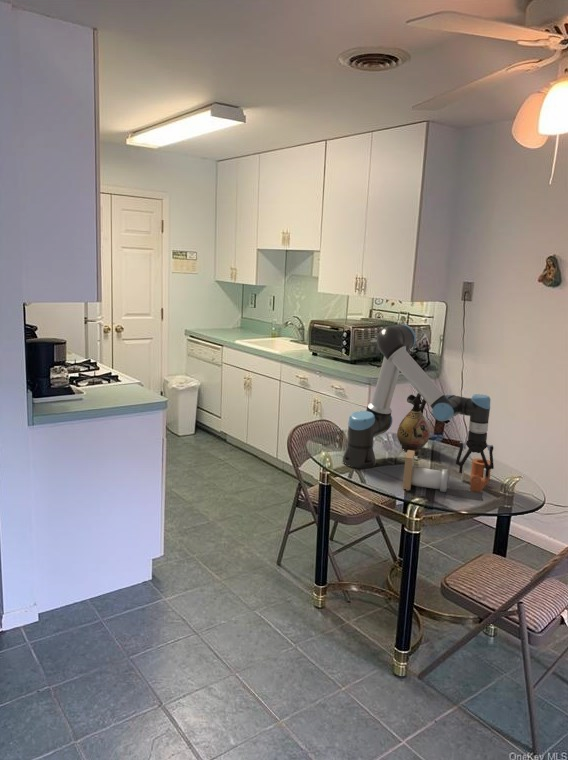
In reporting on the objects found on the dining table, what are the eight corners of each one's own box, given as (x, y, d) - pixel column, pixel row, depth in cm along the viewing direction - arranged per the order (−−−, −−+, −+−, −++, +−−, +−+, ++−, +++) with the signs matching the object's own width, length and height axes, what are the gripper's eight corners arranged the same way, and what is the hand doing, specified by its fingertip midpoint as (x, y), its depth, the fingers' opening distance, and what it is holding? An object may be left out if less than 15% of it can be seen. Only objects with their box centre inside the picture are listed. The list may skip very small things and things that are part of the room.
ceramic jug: (411, 456, 277) (416, 396, 271) (389, 447, 290) (394, 389, 283) (436, 451, 286) (442, 392, 280) (414, 442, 299) (419, 386, 292)
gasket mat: (446, 495, 233) (446, 494, 233) (447, 487, 241) (447, 487, 241) (482, 500, 229) (482, 499, 229) (482, 493, 237) (482, 492, 237)
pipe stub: (402, 489, 237) (405, 457, 234) (405, 480, 247) (407, 449, 244) (445, 496, 233) (449, 463, 230) (446, 486, 242) (449, 455, 239)
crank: (472, 457, 255) (491, 459, 253) (470, 474, 257) (489, 476, 255) (472, 473, 237) (492, 475, 234) (470, 491, 238) (490, 494, 236)
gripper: (452, 430, 243) (447, 481, 248) (504, 436, 237) (498, 488, 242) (452, 426, 250) (447, 475, 255) (503, 431, 244) (498, 482, 249)
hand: (472, 481), depth 248 cm, fingers open, 8 cm apart
